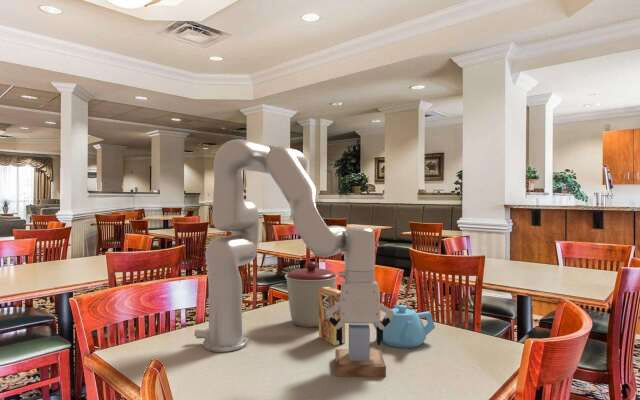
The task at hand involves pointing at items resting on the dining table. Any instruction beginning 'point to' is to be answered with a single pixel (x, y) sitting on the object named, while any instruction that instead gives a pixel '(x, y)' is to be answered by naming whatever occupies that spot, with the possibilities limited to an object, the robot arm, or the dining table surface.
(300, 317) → the canister
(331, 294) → the candy box
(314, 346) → the dining table surface
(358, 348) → the block
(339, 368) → the plinth
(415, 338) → the teapot
